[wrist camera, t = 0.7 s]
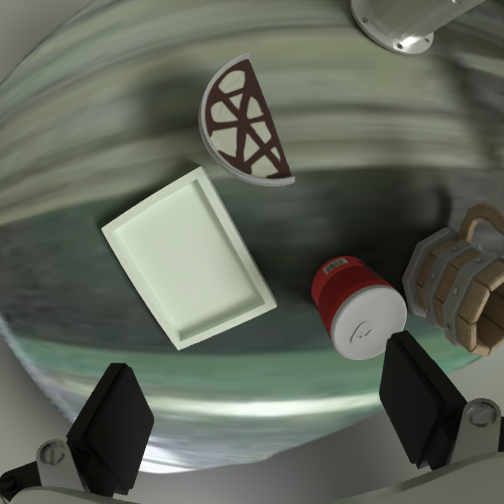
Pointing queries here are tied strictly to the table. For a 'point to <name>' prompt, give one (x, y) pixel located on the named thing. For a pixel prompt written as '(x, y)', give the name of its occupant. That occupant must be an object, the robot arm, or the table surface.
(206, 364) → the table surface
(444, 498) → the robot arm
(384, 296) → the canned food
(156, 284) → the tray
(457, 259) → the tankard
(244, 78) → the food container
